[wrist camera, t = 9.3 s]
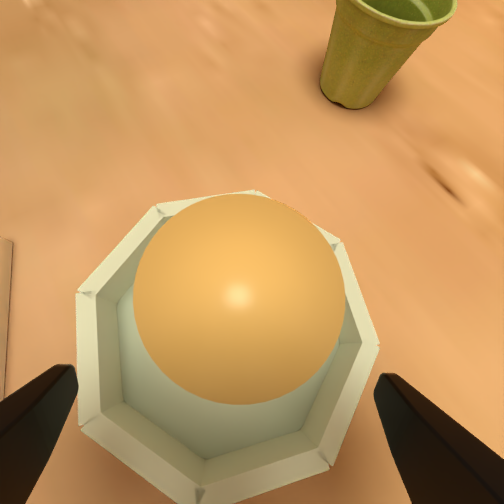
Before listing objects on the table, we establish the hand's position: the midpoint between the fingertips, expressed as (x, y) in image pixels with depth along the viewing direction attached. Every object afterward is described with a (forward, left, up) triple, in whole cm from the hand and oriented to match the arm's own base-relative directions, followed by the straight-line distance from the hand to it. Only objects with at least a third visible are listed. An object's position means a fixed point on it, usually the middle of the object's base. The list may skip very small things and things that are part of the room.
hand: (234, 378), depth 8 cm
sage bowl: (+2, -1, -11) cm, 11 cm away
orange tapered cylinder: (+2, -1, -10) cm, 10 cm away
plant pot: (+23, -18, -11) cm, 31 cm away
